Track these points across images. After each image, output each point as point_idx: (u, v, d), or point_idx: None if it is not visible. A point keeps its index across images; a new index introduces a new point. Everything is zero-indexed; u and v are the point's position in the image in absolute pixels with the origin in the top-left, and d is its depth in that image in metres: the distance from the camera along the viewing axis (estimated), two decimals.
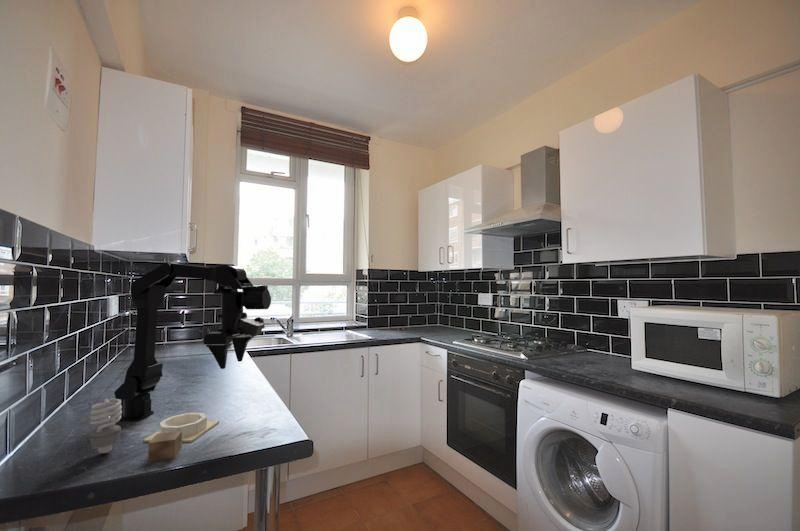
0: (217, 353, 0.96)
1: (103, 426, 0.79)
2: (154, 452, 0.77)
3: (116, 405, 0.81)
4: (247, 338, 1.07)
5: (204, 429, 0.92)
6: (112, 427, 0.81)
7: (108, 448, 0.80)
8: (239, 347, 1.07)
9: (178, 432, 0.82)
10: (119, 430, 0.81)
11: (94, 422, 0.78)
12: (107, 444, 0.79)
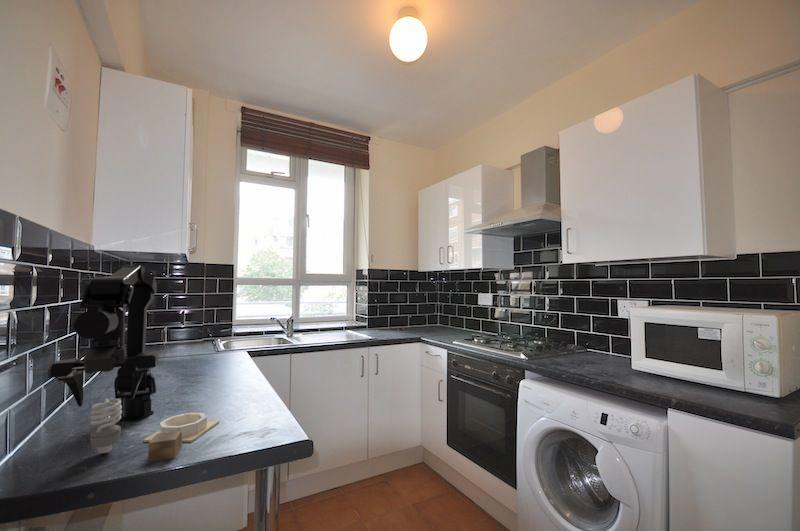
0: None
1: (103, 426, 0.79)
2: (154, 452, 0.77)
3: (116, 405, 0.81)
4: None
5: (204, 429, 0.92)
6: (112, 427, 0.81)
7: (108, 448, 0.80)
8: None
9: (178, 432, 0.82)
10: (119, 430, 0.81)
11: (94, 422, 0.78)
12: (107, 444, 0.79)
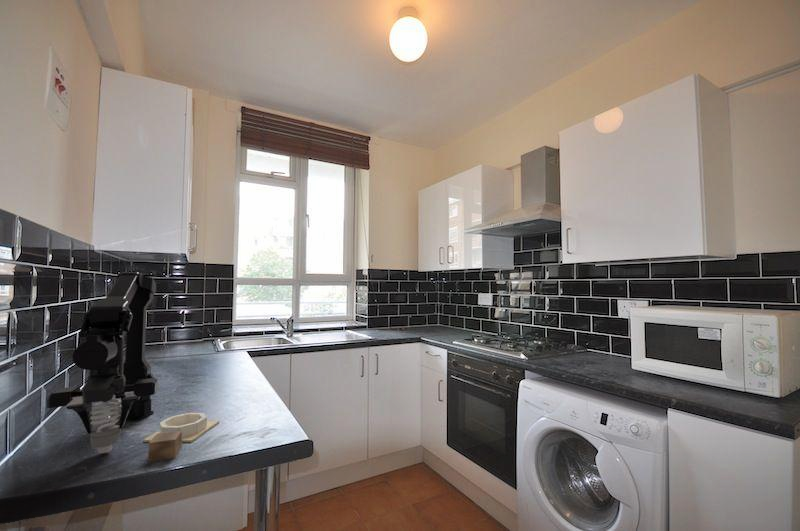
0: None
1: (103, 426, 0.79)
2: (154, 452, 0.77)
3: (116, 405, 0.81)
4: None
5: (204, 429, 0.92)
6: (112, 427, 0.81)
7: (108, 448, 0.80)
8: None
9: (178, 432, 0.82)
10: (119, 430, 0.81)
11: (94, 422, 0.78)
12: (107, 444, 0.79)
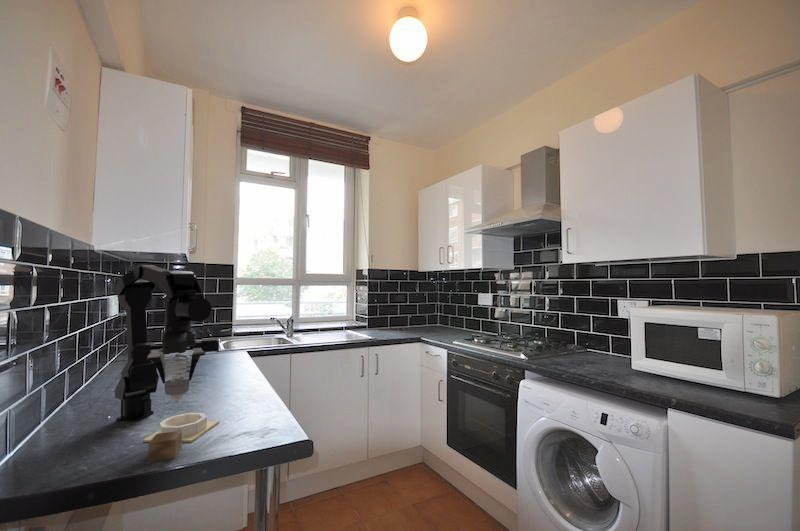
0: None
1: (176, 376, 0.89)
2: (155, 452, 0.77)
3: (186, 359, 0.91)
4: (192, 355, 0.91)
5: (204, 429, 0.92)
6: (182, 379, 0.92)
7: (180, 397, 0.90)
8: None
9: (178, 432, 0.82)
10: (188, 382, 0.92)
11: (168, 373, 0.89)
12: (179, 393, 0.89)
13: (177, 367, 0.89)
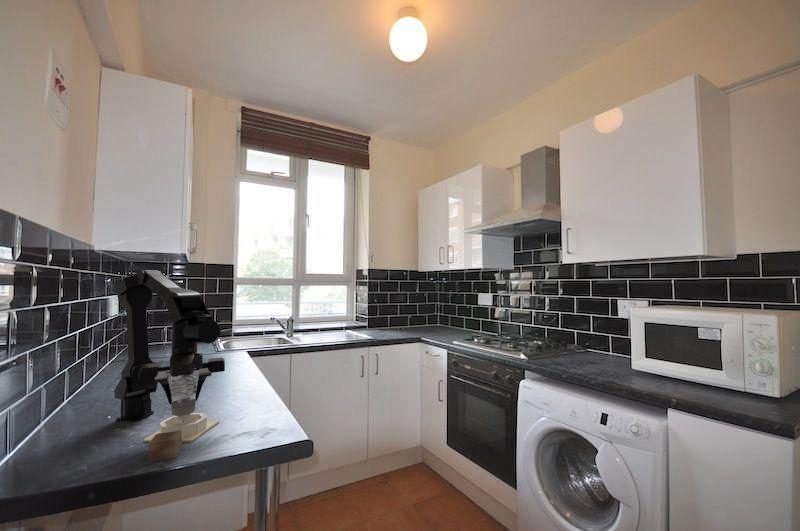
0: None
1: (183, 397, 0.90)
2: (155, 452, 0.77)
3: (193, 380, 0.92)
4: None
5: (204, 429, 0.92)
6: (188, 399, 0.93)
7: (186, 417, 0.91)
8: None
9: (178, 432, 0.82)
10: (195, 402, 0.93)
11: (176, 394, 0.90)
12: (186, 413, 0.90)
13: (184, 388, 0.90)
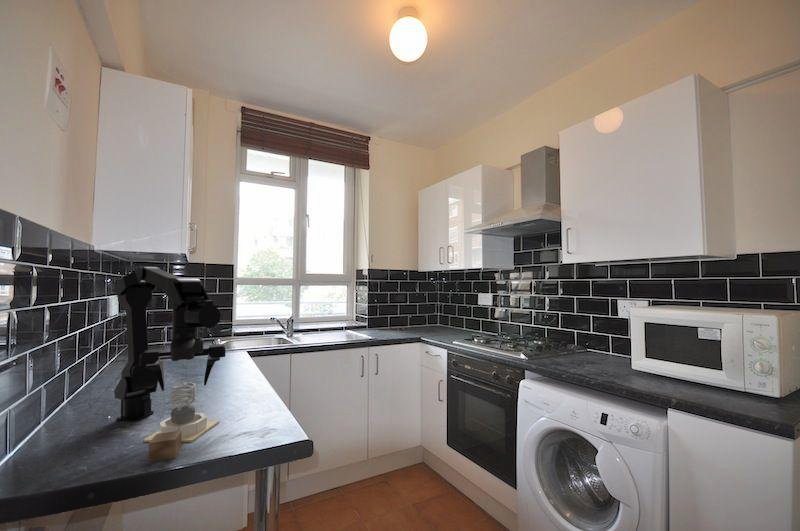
0: None
1: (183, 405, 0.90)
2: (155, 452, 0.77)
3: (193, 387, 0.92)
4: (207, 360, 0.93)
5: (204, 429, 0.92)
6: (188, 407, 0.93)
7: None
8: None
9: (178, 432, 0.82)
10: (194, 409, 0.93)
11: (175, 402, 0.90)
12: (186, 421, 0.90)
13: (184, 396, 0.90)
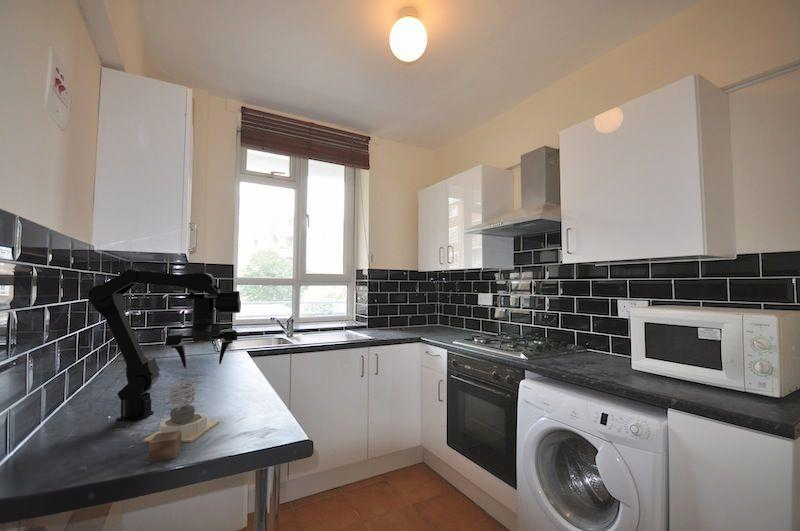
0: None
1: (182, 405, 0.90)
2: (155, 452, 0.77)
3: (191, 387, 0.92)
4: (221, 343, 1.10)
5: (204, 429, 0.92)
6: (187, 407, 0.93)
7: None
8: (220, 350, 1.11)
9: (178, 432, 0.82)
10: (194, 409, 0.93)
11: (174, 402, 0.90)
12: (185, 421, 0.90)
13: (183, 396, 0.90)
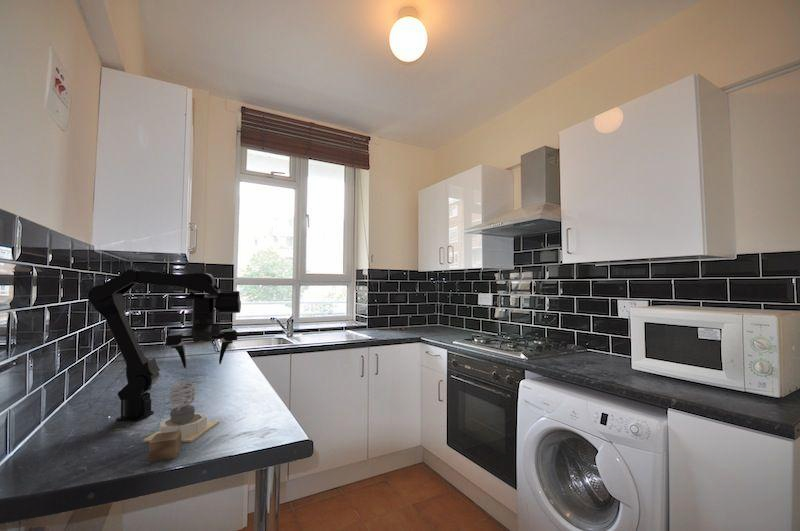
0: None
1: (182, 405, 0.90)
2: (155, 452, 0.77)
3: (191, 387, 0.92)
4: (222, 343, 1.10)
5: (204, 429, 0.92)
6: (187, 407, 0.93)
7: None
8: (220, 350, 1.11)
9: (178, 432, 0.82)
10: (194, 409, 0.93)
11: (174, 402, 0.90)
12: (185, 421, 0.90)
13: (183, 396, 0.90)
